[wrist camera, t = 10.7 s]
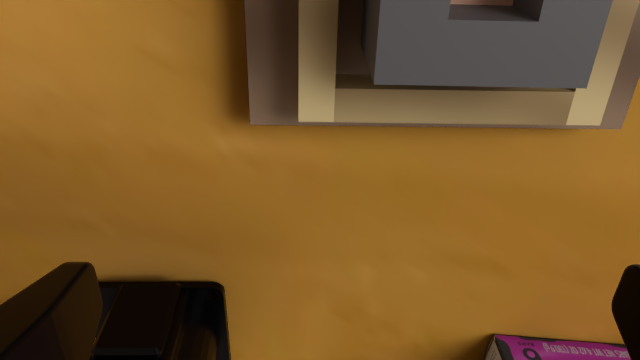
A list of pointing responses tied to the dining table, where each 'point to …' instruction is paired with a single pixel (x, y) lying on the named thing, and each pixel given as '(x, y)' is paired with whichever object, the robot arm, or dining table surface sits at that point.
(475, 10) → the dark gray frame
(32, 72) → the dining table surface
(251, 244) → the dining table surface
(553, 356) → the candy bar box
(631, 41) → the walnut board
